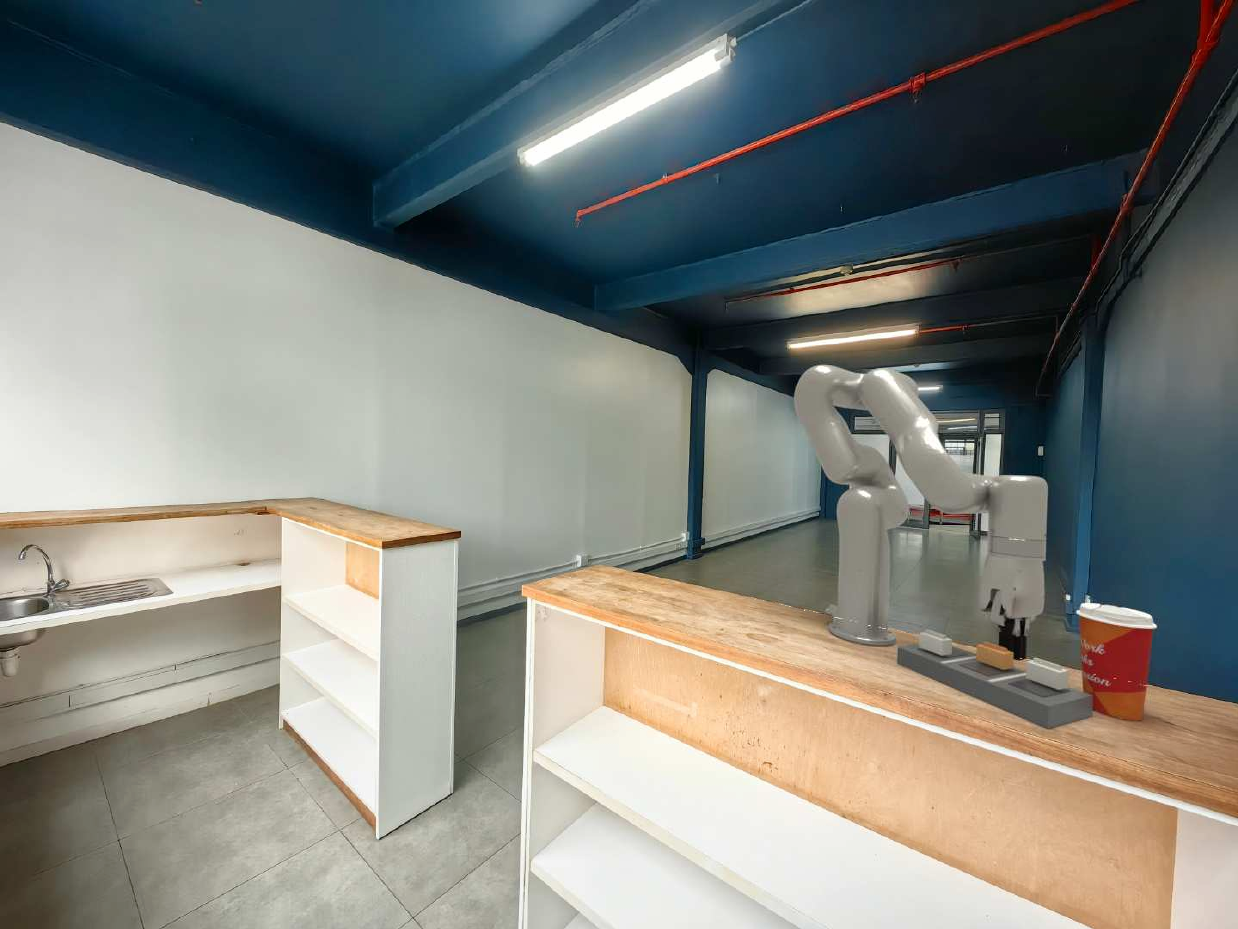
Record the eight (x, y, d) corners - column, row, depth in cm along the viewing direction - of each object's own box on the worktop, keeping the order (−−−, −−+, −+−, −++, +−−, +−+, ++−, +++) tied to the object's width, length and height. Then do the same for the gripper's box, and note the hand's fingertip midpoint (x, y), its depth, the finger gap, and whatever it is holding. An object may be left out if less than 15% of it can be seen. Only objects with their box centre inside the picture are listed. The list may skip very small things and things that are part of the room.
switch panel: (897, 663, 83) (897, 646, 83) (937, 657, 87) (938, 640, 87) (1048, 728, 63) (1048, 705, 63) (1092, 716, 67) (1092, 694, 67)
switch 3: (1025, 678, 71) (1026, 657, 71) (1035, 676, 72) (1036, 656, 72) (1058, 690, 67) (1059, 668, 67) (1068, 687, 68) (1069, 666, 68)
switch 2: (976, 660, 77) (976, 641, 77) (985, 658, 78) (986, 640, 78) (1003, 670, 73) (1004, 650, 74) (1013, 668, 74) (1013, 648, 74)
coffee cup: (1070, 691, 75) (1073, 598, 75) (1146, 710, 69) (1149, 610, 70) (1077, 711, 68) (1080, 609, 68) (1162, 733, 63) (1165, 622, 63)
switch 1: (919, 647, 82) (919, 629, 82) (928, 645, 83) (929, 628, 83) (941, 655, 78) (942, 637, 79) (951, 654, 79) (952, 636, 79)
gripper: (1015, 543, 84) (1012, 644, 84) (963, 545, 79) (959, 653, 78) (1068, 551, 77) (1064, 661, 77) (1015, 553, 72) (1011, 672, 71)
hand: (1011, 657), depth 78 cm, fingers closed
